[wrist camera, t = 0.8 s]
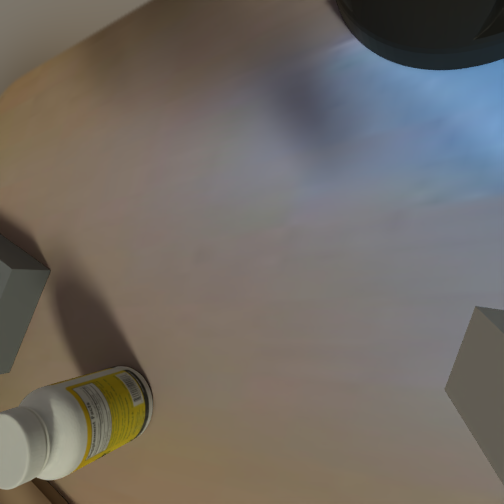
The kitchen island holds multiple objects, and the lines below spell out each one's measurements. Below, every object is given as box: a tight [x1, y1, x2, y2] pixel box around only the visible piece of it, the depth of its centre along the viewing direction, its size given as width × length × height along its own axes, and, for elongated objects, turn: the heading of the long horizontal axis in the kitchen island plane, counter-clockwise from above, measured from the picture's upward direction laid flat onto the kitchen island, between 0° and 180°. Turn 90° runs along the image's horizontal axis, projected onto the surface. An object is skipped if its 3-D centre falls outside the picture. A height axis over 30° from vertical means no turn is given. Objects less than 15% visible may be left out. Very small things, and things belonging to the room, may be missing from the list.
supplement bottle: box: [0, 366, 153, 490], centre depth 27 cm, size 5×5×10 cm
